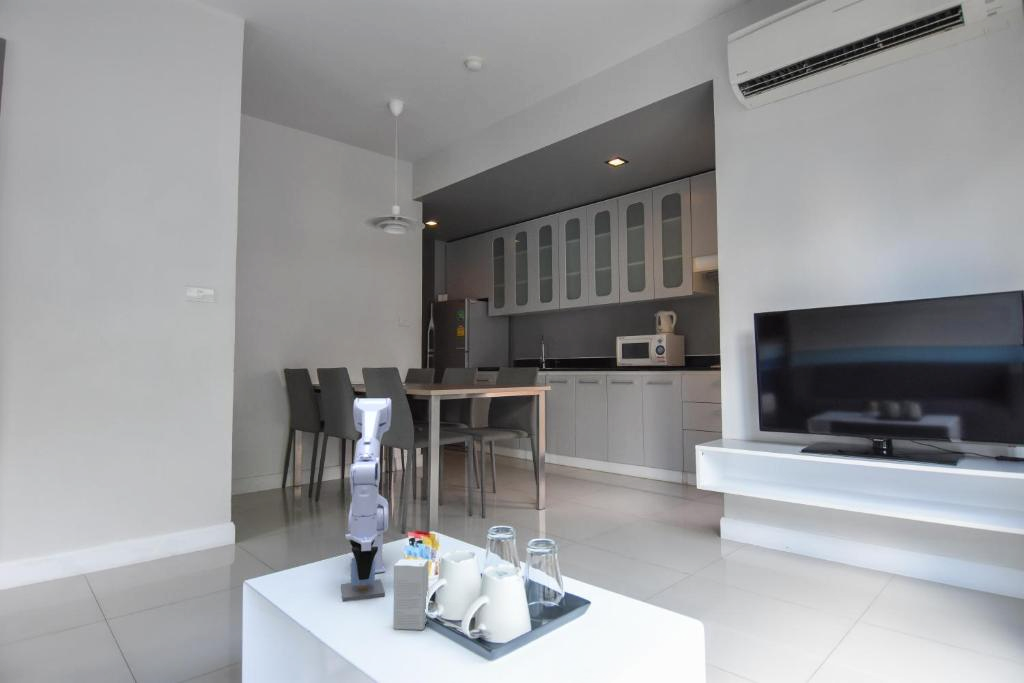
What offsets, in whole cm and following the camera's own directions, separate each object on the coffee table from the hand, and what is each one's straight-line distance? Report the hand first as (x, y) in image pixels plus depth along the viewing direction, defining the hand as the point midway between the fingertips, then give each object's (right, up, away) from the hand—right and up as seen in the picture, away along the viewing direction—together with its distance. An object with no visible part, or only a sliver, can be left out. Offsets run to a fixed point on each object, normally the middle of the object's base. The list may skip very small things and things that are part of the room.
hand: (362, 575), depth 124 cm
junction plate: (0, -4, 0) cm, 4 cm away
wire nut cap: (0, -1, 0) cm, 1 cm away
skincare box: (+14, -2, -18) cm, 23 cm away
